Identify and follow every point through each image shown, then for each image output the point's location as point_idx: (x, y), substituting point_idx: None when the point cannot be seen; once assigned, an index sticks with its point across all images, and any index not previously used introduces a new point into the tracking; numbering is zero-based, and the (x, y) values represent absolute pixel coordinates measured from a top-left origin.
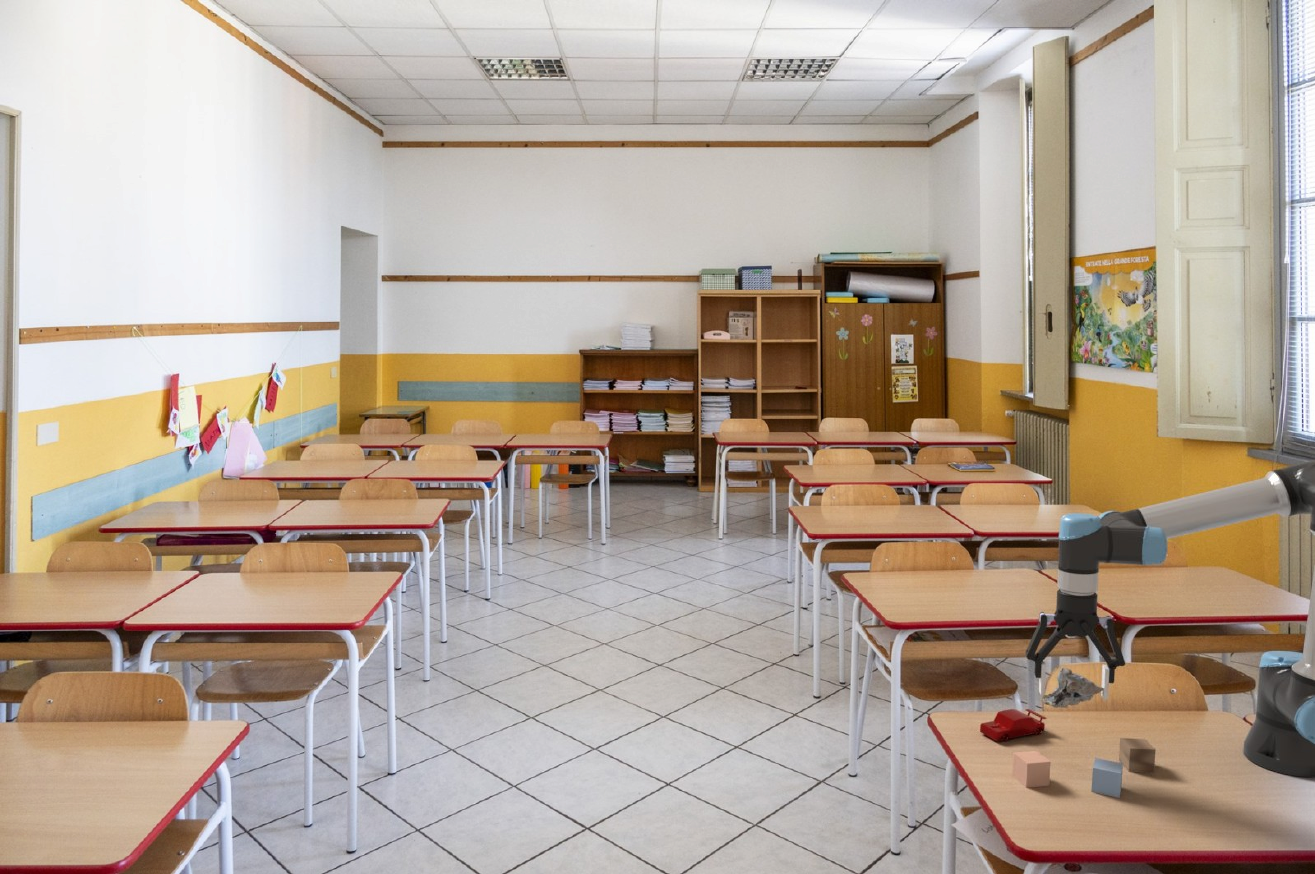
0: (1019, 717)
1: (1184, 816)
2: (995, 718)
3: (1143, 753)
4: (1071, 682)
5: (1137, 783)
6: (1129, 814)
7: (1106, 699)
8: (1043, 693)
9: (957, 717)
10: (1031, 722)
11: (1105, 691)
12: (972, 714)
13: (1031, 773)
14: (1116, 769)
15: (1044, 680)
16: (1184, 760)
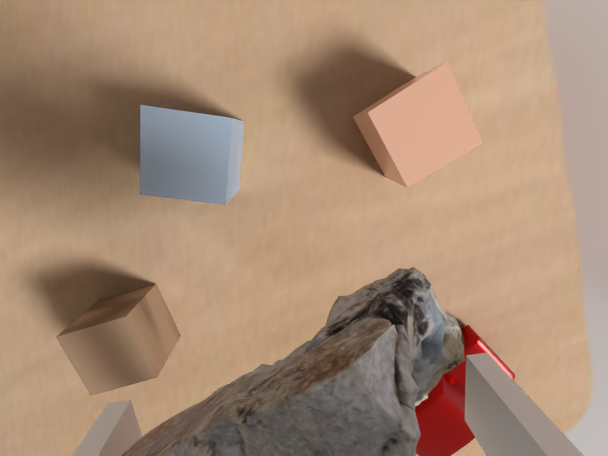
0: (428, 415)
1: (2, 54)
2: None
3: (96, 319)
4: (358, 358)
5: (132, 220)
6: (142, 3)
7: (113, 404)
8: (479, 361)
9: None
10: None
11: (91, 451)
12: None
13: (417, 78)
14: (157, 133)
15: (539, 438)
16: (37, 389)
